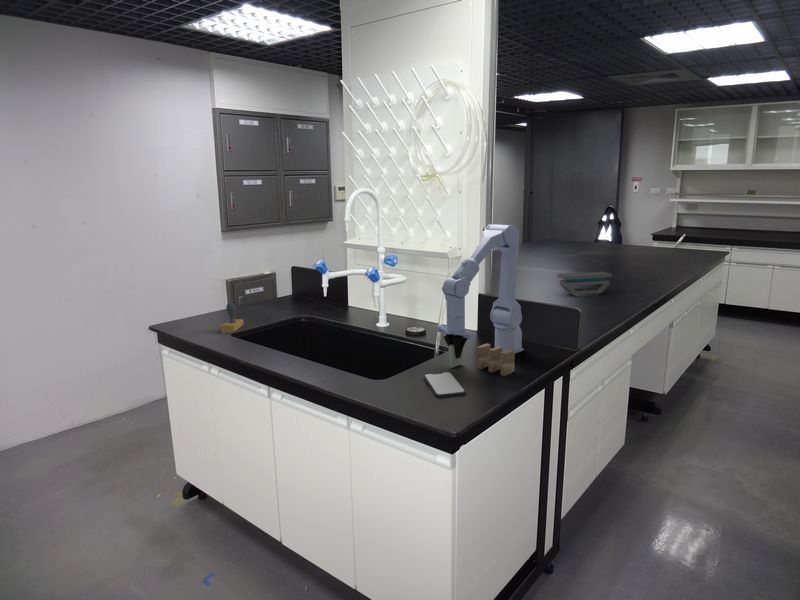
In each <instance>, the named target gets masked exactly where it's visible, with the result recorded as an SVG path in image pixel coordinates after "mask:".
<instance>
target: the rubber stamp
mask: <svg viewBox="0 0 800 600" xmlns="http://www.w3.org/2000/svg"><path fill="white" fill-rule="evenodd" d="M225 309H226V311H227V314H228V315H229V320H227V321H226V322H224V323H222V324H221V325H220V330H221V331H235V330H237V329H238V328H240V327H241V326H242V325H244V320H243V318H242V319H238V318H237V319H235V318H234V316H235V312H236V305H235V304H234V303H233V302H228V303H227V304H226V307H225ZM244 326H245V325H244ZM221 331H220V332H221Z"/></svg>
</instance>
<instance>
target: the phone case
mask: <svg viewBox="0 0 800 600" xmlns="http://www.w3.org/2000/svg"><path fill="white" fill-rule="evenodd" d="M423 380H424V382H425V383H426V385H427V386H428V388H429V389H430V391H431V392H432V394H433V396H434V397H436V398H437V399H442V398H453V397H462V396H466V394H467V392H466V390H465V388H464V387H463V386H462V385H461V383H459V381H458V380H457V378H456V377H455V376H454V375H453V373H451V372H449V371H446V372H435V373H425V374H424V375H423Z"/></svg>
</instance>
